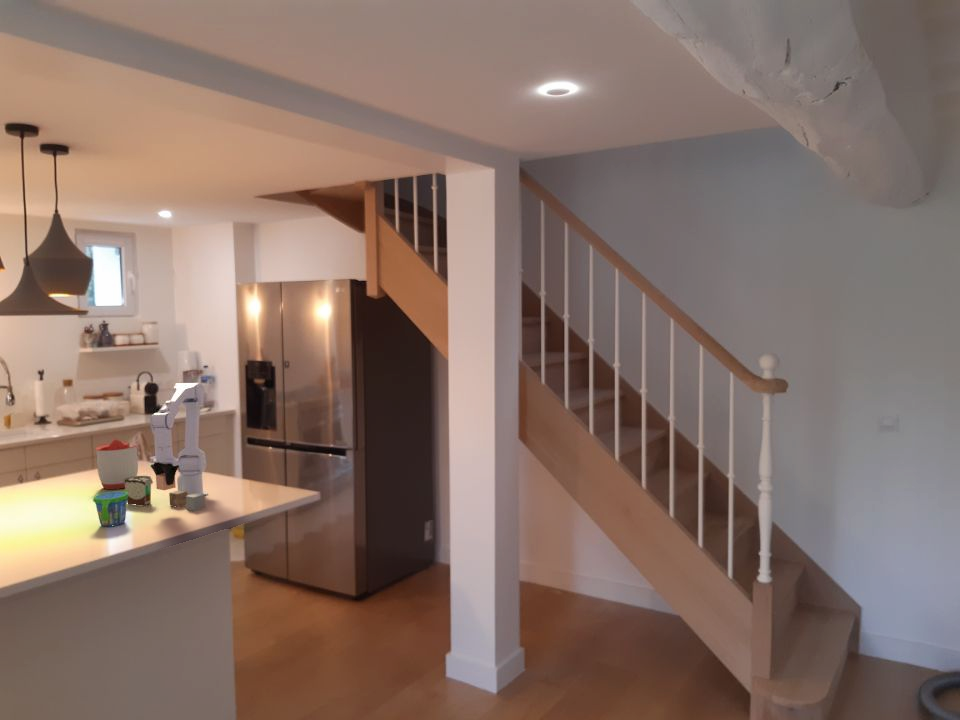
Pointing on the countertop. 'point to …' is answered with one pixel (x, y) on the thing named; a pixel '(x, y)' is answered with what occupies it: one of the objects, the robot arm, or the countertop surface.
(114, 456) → the citrus juicer
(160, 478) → the terracotta block
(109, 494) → the snack cup
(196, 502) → the slate block
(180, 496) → the walnut block
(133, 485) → the food container
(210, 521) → the countertop surface
